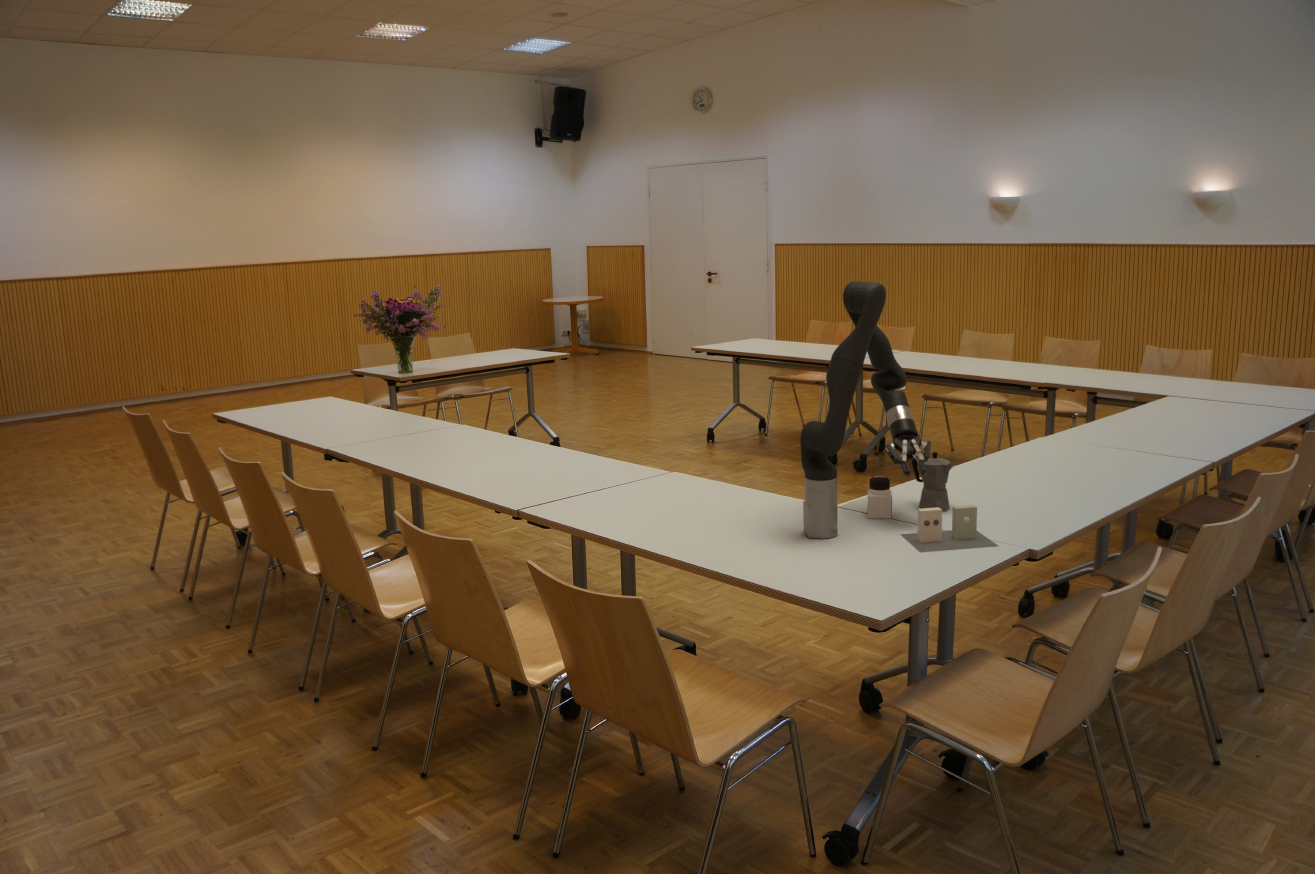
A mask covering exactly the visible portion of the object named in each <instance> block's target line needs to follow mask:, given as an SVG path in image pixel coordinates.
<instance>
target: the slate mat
mask: <svg viewBox="0 0 1315 874" xmlns="http://www.w3.org/2000/svg"><path fill="white" fill-rule="evenodd" d="M899 535H900V536H901V537H902V538H903V539H905V541H907V542H908V543H909V544H910V545H911V546H912V547H914V548H915V549H916V550H917V551H918V552H919V553H930V552H931V553H932V552H943V551H944V552H945V551H957V550H968V549H969V550H970V549H980V548H982V549H983V548H995V547H996V548H997V547H999V545H998V544H997V543H995V542H994V541H993V540H991V539H990V538H988V537H987V536H986V535H984V534H983V533H981V532H980V531H978V530H977V529H976V538H972V539H959V540H955V539H954V538H953V537H952V530H942V541H933V542H920V541H918V540H917V538H918V532H913V533H912V532H911V533H900V534H899Z"/></svg>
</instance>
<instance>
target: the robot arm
mask: <svg viewBox="0 0 1315 874" xmlns="http://www.w3.org/2000/svg"><path fill="white" fill-rule="evenodd" d="M886 299H887V290H886V287H885V286H884V285H883V284H882V283H879V282H871V281H863V280H862V281H861V280H853V281H850V282H849V283H847V284H846V286H845V288H844V289H843V292H842V301H843V306H844V309H845V310H846V312H847V314H848V315H849V318H850V320H851V321H852V323H853V325H854V329H853V330H852V331H851V332H850V333H849V335H847V336H846V338H845V339H843V340H842V342H841V343H839V345H838V346H837V347H836V348H835V349H834V351H833V353H832V354H831V357H830V361H829V364H828V366H827V371H826V375H825V377H826V378H825V380H826V381H825V382H826V388H827V392H828V398H829V406H828V411H827V415H826V418H825V421H819V420H811V421H808V422H807V423H805V424H804V426H803V427H802V429H801V433H800V438H799V439H800V441H799V442H800V443H799V444H800V454H801V455H800V456H801V457H800V458H801V467H802V470H803V472H804V500H803V503H802V504H803V505H802V507H803V508H802V511H803V514H802V515H803V516H802V517H803V520H802V521H803V533H804V534H805V535H806V537H807V536H808V537H807V539H819V538H820V540H821V539H832V538H834V537H836V536H837V535H838V528H839V526H838V468H837V467H836V465H834V464H833V462H831V461H830V460H829V458H828V457H833V456H835V455H836V454H838V453H839V451H840V449H841V448H842V446H843V443H844V439H845V435H846V429H847V424H848V420H849V419H848V418H849V414H850V409H851V406H852V402H853V399H854V396H855V392H856V389H857V386H858V382H859V380H860V377H861V375H862V370H863V367H864V363H865V359H866V356H867V355H868V358H869V361H870V364H871V366H872V368H873V369H874V370H877V371H875V372H874V373H872V375H871V377H870V385H871V387H872V388H873V390H874V391H875V393H876V395H877V396H878V397H879V399H880V400H881V402H882V405H883V408H884V411H885V414H886V415H885V416H886V423H887V427H888V429H889V432H890V436H891V437H890V438H891V440H892V443H886V445H885V448H884V451H885V453H887V455H888V457H889V458H890V460H891V461H892V462H893V464H895V465H897V464H899V465H900V466H901V469H902V472H903V475H905V476H906V477H909V476H910V474H911V469H910V465H909V461H907V455H908V456H911V455H912V457H913V459H914V458H915V459H916V460H917V466H918V471H919V475H920V476H921V475H924V473H925V472H926V466H925V462H927V461H928V458H931V457H930V456H931V449H932V447H931V446H932V442H931V440H927V441H923V440H922V439H921V438H920V437H919V433H918V429H917V426H916V422H915V419H914V416H913V413H912V410H911V409H910V405H909V402H908V399H907V395H905V393H904V392H902V391H896V390H899V389H903V388H904V387H905V386H906V384H907V382H908V377H907V374H906V372H905V370H904V369H903V368H902V366H901V365H900V363H898V361H897V360H896V357H895V356H894V352H893V349H892V346H891V342H890V340H889V338H888V337H887V336H886V334H885V333H884V331H883V330H881V328H880V327H879V326H878V322H879V321H880V318H881V316H882V313H883V311H884V309H885V308H884V307H885V304H886ZM920 446H921V448H922V450H924V451H923V452H922V450H921V448H920ZM896 451H898V452H899V455H898V453H897V452H896Z"/></svg>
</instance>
